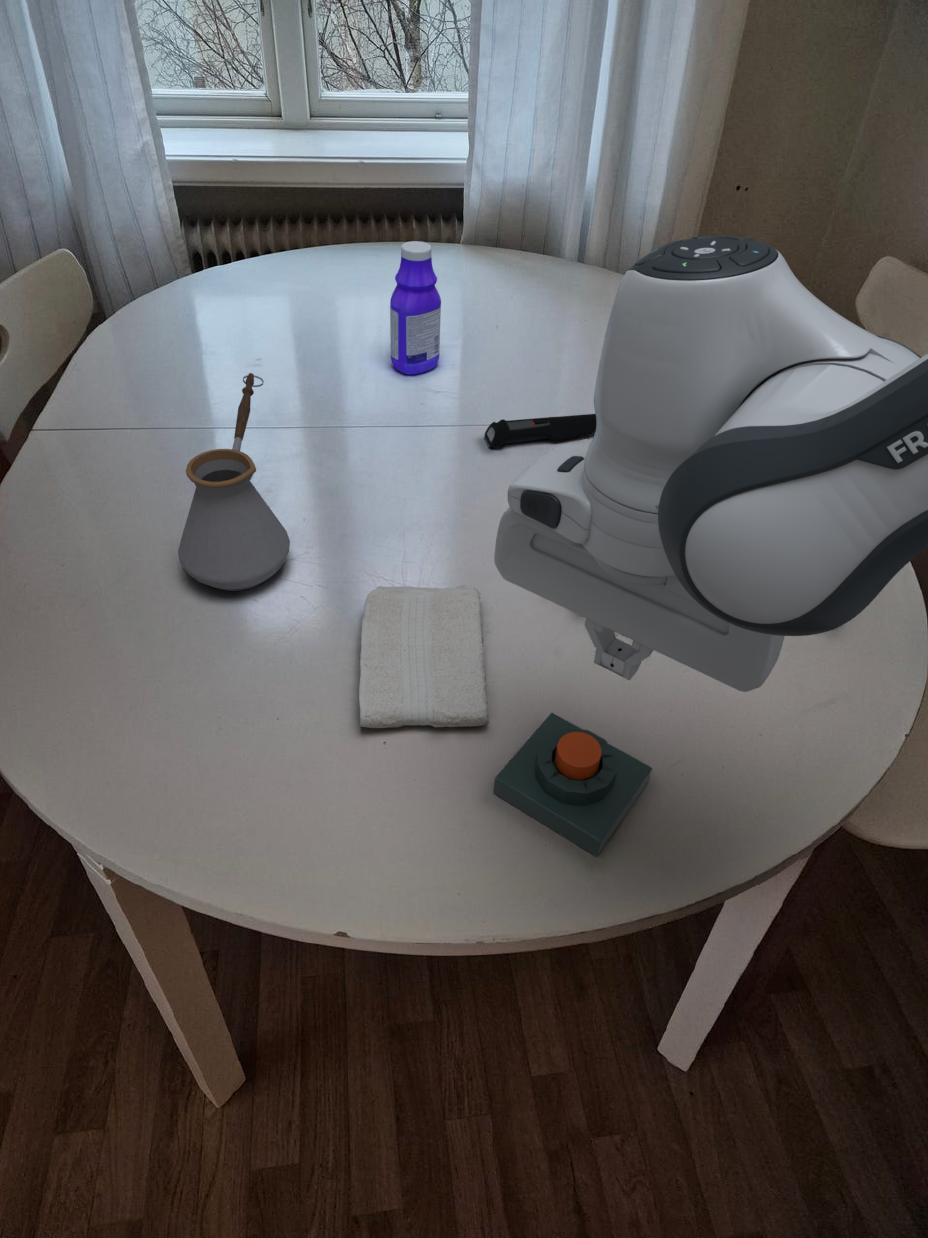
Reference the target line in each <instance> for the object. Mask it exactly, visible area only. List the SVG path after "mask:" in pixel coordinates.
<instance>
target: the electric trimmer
mask: <svg viewBox="0 0 928 1238" xmlns="http://www.w3.org/2000/svg"><path fill="white" fill-rule="evenodd" d="M595 432H596V414H595V413H587V414H574V415H562V416H561V415H560V416H547V417H535V418H524V419H523V418H522V419H512V420H506V419H504V418H503V419H500V420H499V421H497V422H495V421H493V422H491V423H490V424H489V425H488V427H487V429H486V430H485V433H484V441H485V442H486V444H487V447H488V448H493V449H496V450H497V449H499V448H500V447H501V446H502V445H504V444H512V443H521V442H530V441H537V440H545V439H547V440H551V441H553V442H556V441H562V440H567V439H571V438H576V437H580V436H585V435H589V434H595Z"/></svg>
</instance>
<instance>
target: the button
mask: <svg viewBox="0 0 928 1238" xmlns="http://www.w3.org/2000/svg"><path fill="white" fill-rule="evenodd" d="M601 754H602V750H601V747H600V744H599V743H598V741H597V740H596V739H595V738H593V737H592V736H590V735H588V734H586V733H582V732H571V733H568V734H566V735H564V736H563V737H562V738H561V739H560V740H559V742H558V744H557V750H556V755H555V764H556V767H557V769H558V770H559V771H560V772H561V773H562V774H563V775H564V776H566V777H568V778H571V779H575V780H584V779H588V778H590V777H592V776H593V775H594V774H595V773H596V772H597V770H598V767H599V762H600V758H601Z"/></svg>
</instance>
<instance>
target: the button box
mask: <svg viewBox="0 0 928 1238" xmlns="http://www.w3.org/2000/svg"><path fill="white" fill-rule="evenodd" d="M571 732H582V733H586V734H588V735H590V736H592V737H593V738H595V739H596V740H597V741H598V743H599V744H600V747H601V750H602V754H601V758H600V762H599V767H598V770H597V772H596V773H595V774H594V775H593V776H592V777H590V778H588V779H584V780H575V779H571V778H568V777H566V776H564V775H563V774H562V773H561V772H560V771H559V770H558V769H557V767H556V764H555V755H556V750H557V744H558V742H559V740H560V739H561V738H562V737H563V736H564V735H566V734H568V733H571ZM652 771H653V767H652V766H650V765H649V764H646V762H643V761H641V760H639V759H638V758H636V757H634V756H632V755H630V754H628V753H626V752H625V751H623V750H621V749H619V748H618V747H616V746H614V745H612V744H610V743H609V742H608V741H607V740H606V739H605V738H604V737H601V736H599V735H597V734H596V733H594V732H592V731H591V730H589V729H583V728H581V727H579V726H577V725H575V724H574V723H572V722H571V721H568V720H567V719H564V718H563V717H562V716H559V715H558V714H555V713H554V712H551V713H550V714H549V715H548V716H547V717H546V718H545V720H543V722H542V723H541V724H540V725H539V727H538V728H537V729H536V730H534V732H533V734H532V735H531V736H530V737H529V738H528V739H527V740H526V742H525V743H524V744H522V746H521V747H520V749H518V750H517V752H516V753H515V754H514V756H512V758H511V759H510V760H509V761H508V762H507V763H506V764H505V766H504V767H503V768H502V769H501V771H500V772H499V773H498V774H497V775H496V776H495V778H494V783H493V785H494V786H493V794H494V795H496V796H497V797H498V798H501V799H502V800H504V801H505V802H507V803H508V804H510V805H512V806H513V807H514V808H516V809H519V810H520V811H521V812H523V813H525V814H526V815H528V816H530V817H531V818H533V819H535V820H536V821H537V822H540V823H541V824H542V825H544V826H546V827H547V828H549V829H551V830H552V831H554V832H555V833H557V834H559V835H560V836H561V837H564V838H565V839H567V840H569V841H570V842H572V843H573V844H575V845H576V846H578V847H580V848H582V849H583V850H584V851H587V852H588V853H590V854H591V855H593V856H594V857H598V856H599V854H600V853H601V851H602V850H603V849H604V847H605V846H606V844H607V843H608V841H609V840H610V838H611V837H612V836H613V834H614V833H615V831H616V830H617V828H618V827H619V825H620V824H621V822H622V821H623V819H624V818H625V817H626V815H627V814H628V813H629V811H630V810H631V808H632V806H633V805H634V803H635V802H636V801H637V799H638V798H639V796H640V795H641V794H642V792H643V791H644V789H645V788H646V787H647V785H648V783H649V780H650V777H651V774H652Z"/></svg>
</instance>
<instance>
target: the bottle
mask: <svg viewBox="0 0 928 1238" xmlns="http://www.w3.org/2000/svg"><path fill="white" fill-rule="evenodd" d="M400 250H401V251H400V263H399V268H398V270H397V272H396V274H395V275H394V280H395V283H396V286H395V287H394V290H393V292H392V294H391V295H390V296H391V297H390V302H389V304H390V305H389V315H390V316H389V320H390V321H389V323H390V324H389V326H390V327H389V330H390V333H389V334H390V361H391V364H392V366H393V367H394V368H395V369H396V370H397V371H399V372H400V373H403V374H405V375H418V374H421V373H424V372H428V371H430V370H433V369H434V368H435V367H436V366H437V365H438V363H439V361H440V347H441V346H440V343H441V317H442V316H441V315H442V314H441V313H442V312H441V311H442V309H441V308H442V299H441V295H440V293H439V291H438V289H437V286H436V284H437V282H438V277H437V275H436V273H435V270H434V267H433V259H432V258H433V257H432V246H431V244H429V243H428V242H425V241H419V240H411V241H407V242H404V243H402V244H401V249H400Z"/></svg>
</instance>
